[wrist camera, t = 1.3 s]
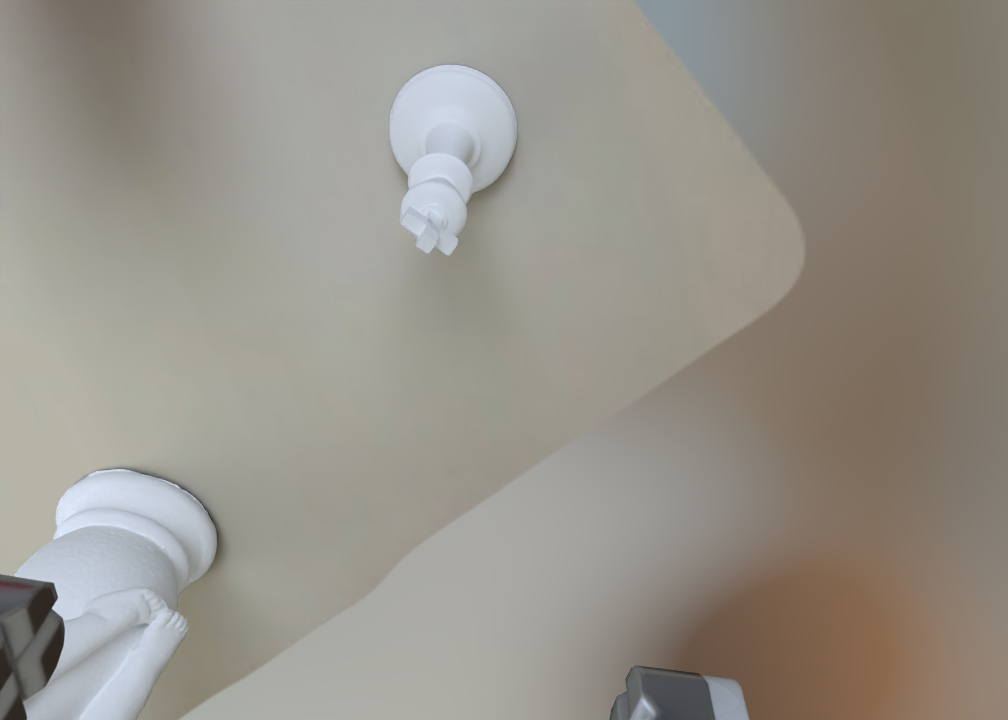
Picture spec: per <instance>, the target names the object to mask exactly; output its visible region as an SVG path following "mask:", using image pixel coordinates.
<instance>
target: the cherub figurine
mask: <svg viewBox="0 0 1008 720" xmlns="http://www.w3.org/2000/svg"><path fill="white" fill-rule="evenodd" d="M56 524H57V530H56V532H55V535H54V538H53V541H52V542H50V543H48V544H47V545H45V546H44V547H42V548H41V549H40V550H38V551H37V552H36V553H34V554H33V555H32V556H31V557H30V558H29V559H28V560H27V561H26V562H25V563H24V564H23V565H22V566H21V567H20V568H19V570H18V571H17V572H16V574H15V575H14V576H15V577H21V578H28V579H34V580H41V581H47V582H54V585H55V588H56V592H57V595H58V599H57V601H56V602H55V604H54V606H53V607H52V609H53V610H54V611H55V612H56V613H57V614H59V615H60V616H61V617H62V618H63V621H64V626H65V638H64V646H63V649H62V652H61V655H60V658H59V661H58V664H57V667H56V669H55V671H54V672H53V674H52V676H51V678H50V680H49V682H48V683H47V685H46V687H45V688H43V689H42V690H40V691H39V692H37V693H36V694H34V695H33V696H31V697H30V698H28V699H27V700H25V707H26V713H27V720H136V719H137V717H138V716H139V714H140V712H141V711H142V709H143V707H144V706H145V704H146V702H147V700H148V698H149V696H150V694H151V691H152V689H153V687H154V685H155V683H156V682H157V680H158V678H159V676H160V674H161V673H162V671H163V669H164V668H165V666H166V665H167V664H168V662H169V661H170V659H171V658H172V656H173V655H174V653H175V652H176V650H177V648H178V646H179V644H180V643H181V642H182V640H183V638H184V637H185V635H186V633H187V631H188V628H189V625H188V624H187V623H188V620H187V619H185V618H184V616H182V615H181V614H180V613H179V612H178V611H177V605H178V595H179V594H180V593H181V592H182V591H183V590H184V589H185V587H186V585H188V584H190V583H192V582H194V581H196V580H197V579H199V578H200V577H201V576H202V575H204V574H205V573H206V572H207V570H208V569H209V568H210V566H211V564H212V562H213V560H214V557H215V554H216V550H217V533H216V529H215V526H214V523H212V521H211V519H210V517H209V514H208V511H207V510H205V509H204V508H203V506H202V504H201V503H199V501H198V500H197V499H196V498H195V497H194V496H193V495H192V494H189V493H188V492H187V491H185V490H181V488H180V487H179V486H177V485H176V484H173V483H171V482H168V481H167V480H163V479H160V478H155V477H152V476H149V475H145V474H144V475H143V474H140V473H138V472H133V471H129V470H127V469H123V470H122V469H113V470H105V471H102V470H100V471H95V472H94V473H91V474H89V476H88V477H86V478H85V479H83V480H81V481H79V482H77V483H76V484H74V485H73V486H72V487H70V488H69V489H68V490H67V491H66V492H65V494H64V495H63V496H62V498H61V500H60V502H59V503H58V507H57V510H56Z"/></svg>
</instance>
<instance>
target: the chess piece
mask: <svg viewBox="0 0 1008 720" xmlns="http://www.w3.org/2000/svg"><path fill="white" fill-rule="evenodd" d="M389 134H390V142H391V146H392V150H393V153H394V155H395V158H396V160H397V161H398V163H399V165H400V166H401V168H402V169H403V170H404V172H405V173H406V174H407V175H408V176H409V177H408V187H409V191H408V192H407V193H406V195H405V196H404V198H403V200H402V203H401V209H400V214H401V221H400V224H401V225H403V226H404V227H405V228H406V230H407V231H408V232H409V234H410V235H412V236H413V237H414V238H415V239H417V242H416V246H417V247H419V248H420V249H422V250H423V251H425V252H426V253H428V254H429V253H430V251H431V250H432V249H433V248H434V247H436V248H437V249H439V250H440V251H442V252H443V253H445V254H446V255H448V256H449V255H450V254H451V253H452V251H453V250H454V249H455V248H456V246H457V243H458V238H456V237H457V236H458V235H459V234H460V233H461V232H462V231H463V229H464V227H465V224H466V221H467V208H466V204H467V203H468V202H469V200H470V198H471V196H472V193H475V192H477V191H480V190H482V189H484V188H486V187H487V186H489V185H490V184H492V183H493V182H494V181H495V180H496V179H497V178H498V177H499V176H500V175H501V174H502V173H503V171H504V170H505V168H506V167H507V165H508V163H509V161H510V159H511V157H512V155H513V152H514V149H515V146H516V140H517V123H516V117H515V113H514V110H513V107H512V105H511V103H510V101H509V99H508V97H507V96H506V94H505V93H504V91H503V90H502V89H501V88H500V87H499V86H498V85H497V84H496V83H495V82H494V81H493V80H492V79H491V78H489V77H488V76H486V75H485V74H483V73H481V72H479V71H477V70H475V69H472V68H469V67H465V66H460V65H441V66H436V67H432V68H429V69H427V70H424V71H422V72H420V73H419V74H417V75H416V76H414V77H413V78H412V79H410V80H409V81H408V82H407V83H406V84H405V85H404V87H403V88H402V89H401V90H400V92H399V93H398V95H397V97H396V99H395V101H394V104H393V106H392V110H391V114H390V123H389Z"/></svg>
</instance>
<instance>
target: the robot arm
mask: <svg viewBox="0 0 1008 720" xmlns="http://www.w3.org/2000/svg"><path fill="white" fill-rule="evenodd" d="M57 599H58V595H57V592H56V588H55V585H54V582H47V581H41V580H34V579H28V578H21V577H15V576H8V575H2V574H0V720H27V713H26V707H25V700H27V699H28V698H30V697H31V696H33V695H34V694H36V693H37V692H39V691H40V690H42V689H43V688H45V687H46V685H47V683H48V682H49V680H50V678H51V676H52V674H53V672H54V671H55V669H56V667H57V664H58V661H59V658H60V655H61V652H62V649H63V646H64V638H65V626H64V621H63V618H62V617H61V616H60V615H59V614H57V613H56V612H55V611H54V610H53V609H52V607H53V606H54V604H55V602H56V601H57ZM626 688H627V691H626V692H624V693H622V694H621V695H618V696H617V698H616V700H615V702H614V705H613V707H612V709H611V715H610V720H749V716H748V712H747V708H746V704H745V700H744V696H743V692H742V689H741V687H740V685H739V684H738V682H737V681H736V680H733V679H730V678H722V677H713V676H706V675H700V674H699V673H691V672H684V671H676V670H668V669H659V668H651V667H644V666H634V667H633V668H631V669H630V671H629V673H628V675H627V677H626Z"/></svg>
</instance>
